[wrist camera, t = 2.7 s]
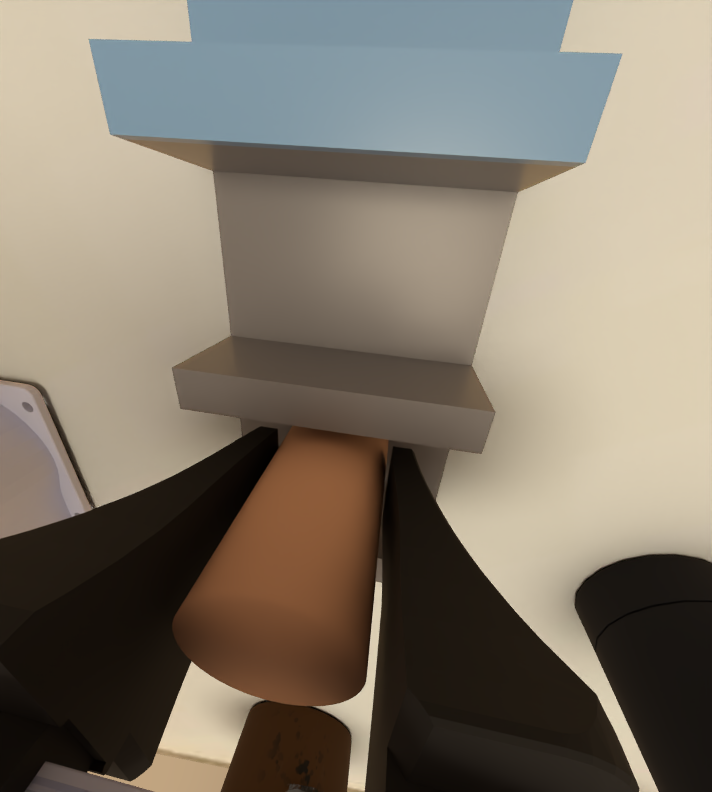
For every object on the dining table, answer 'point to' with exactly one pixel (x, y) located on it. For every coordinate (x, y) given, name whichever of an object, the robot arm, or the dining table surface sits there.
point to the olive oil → (290, 752)
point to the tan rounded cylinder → (294, 575)
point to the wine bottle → (658, 660)
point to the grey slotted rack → (359, 195)
